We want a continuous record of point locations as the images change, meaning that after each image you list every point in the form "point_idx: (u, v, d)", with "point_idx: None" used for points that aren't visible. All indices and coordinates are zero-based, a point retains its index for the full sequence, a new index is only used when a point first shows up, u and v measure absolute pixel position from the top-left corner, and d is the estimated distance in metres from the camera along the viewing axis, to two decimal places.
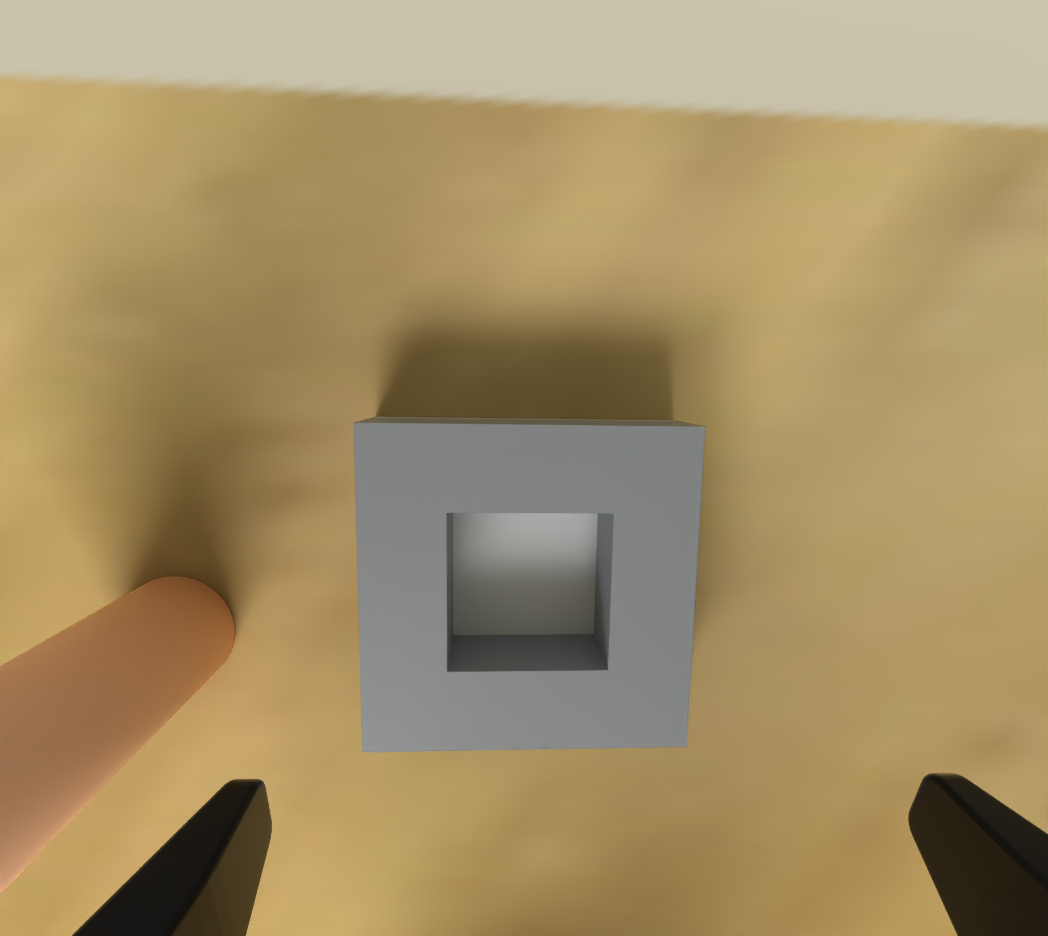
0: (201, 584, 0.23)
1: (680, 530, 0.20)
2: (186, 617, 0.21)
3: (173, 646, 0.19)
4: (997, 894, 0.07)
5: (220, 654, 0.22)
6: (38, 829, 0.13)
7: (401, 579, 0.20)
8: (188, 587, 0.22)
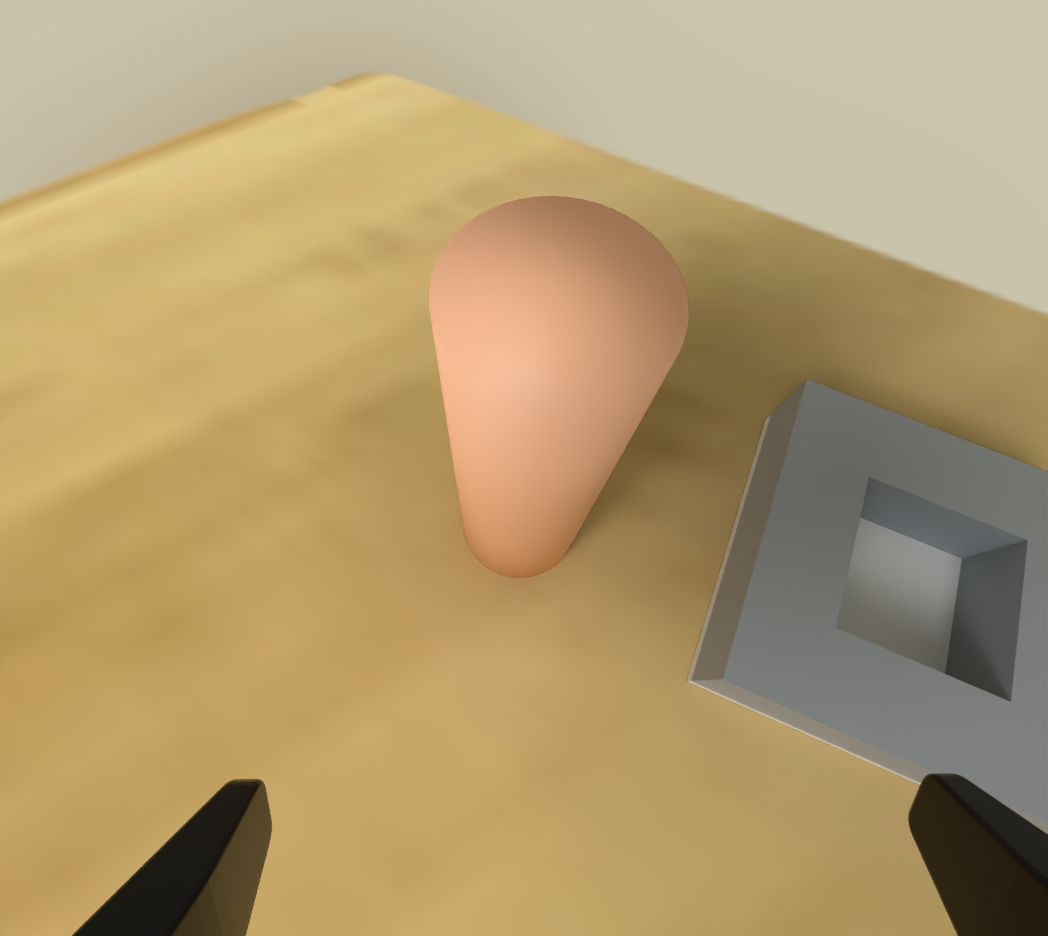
0: None
1: None
2: None
3: None
4: (997, 894, 0.07)
5: (568, 547, 0.21)
6: (623, 451, 0.13)
7: (813, 517, 0.20)
8: None
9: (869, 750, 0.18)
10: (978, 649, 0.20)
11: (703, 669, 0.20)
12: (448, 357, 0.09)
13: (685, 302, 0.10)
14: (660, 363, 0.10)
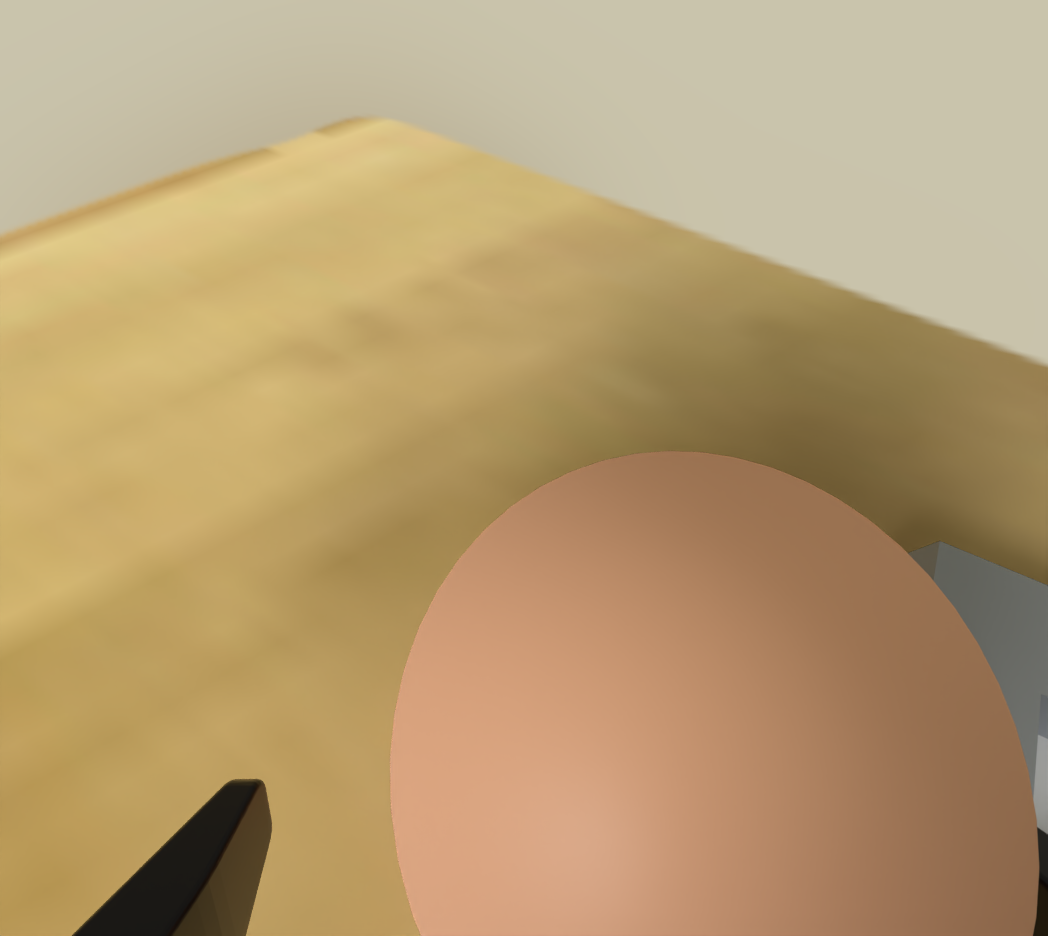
0: None
1: None
2: None
3: None
4: None
5: None
6: None
7: None
8: None
9: None
10: None
11: None
12: None
13: (1017, 750, 0.04)
14: None
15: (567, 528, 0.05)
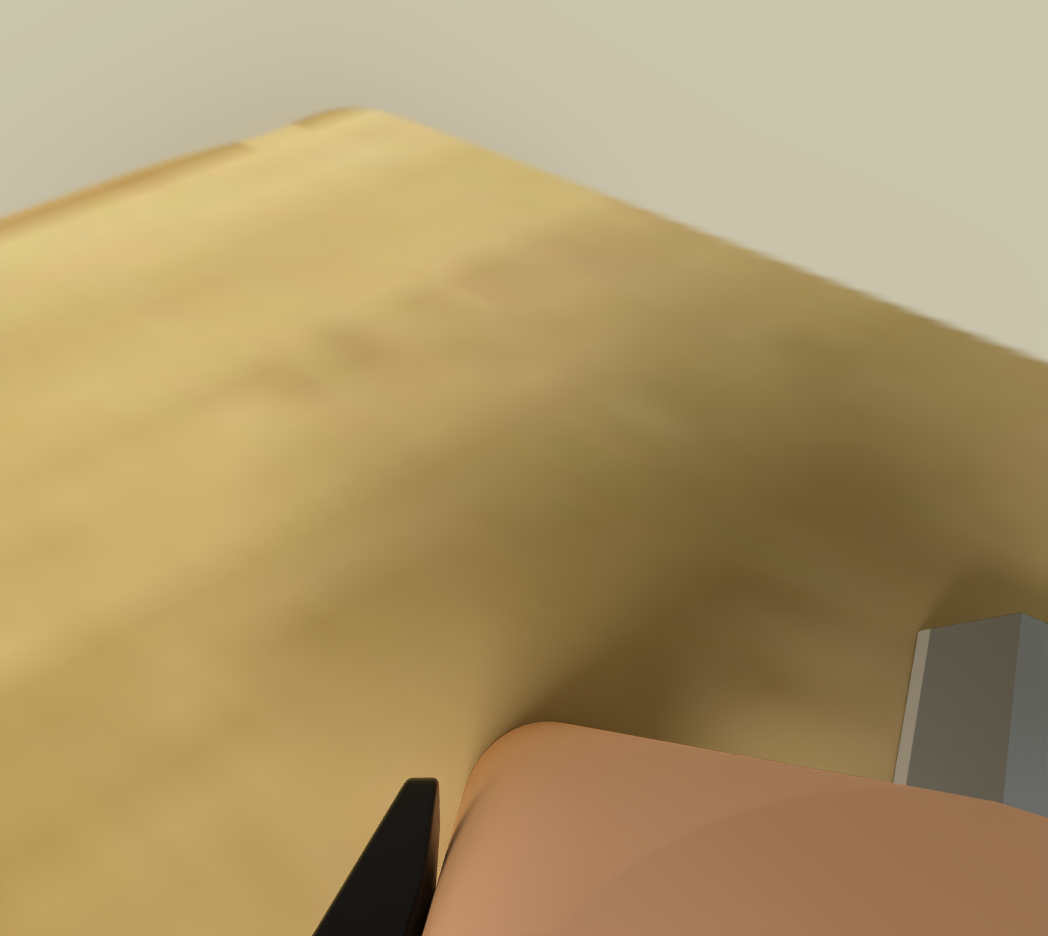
0: None
1: None
2: None
3: None
4: None
5: None
6: None
7: None
8: None
9: None
10: None
11: None
12: None
13: None
14: None
15: None
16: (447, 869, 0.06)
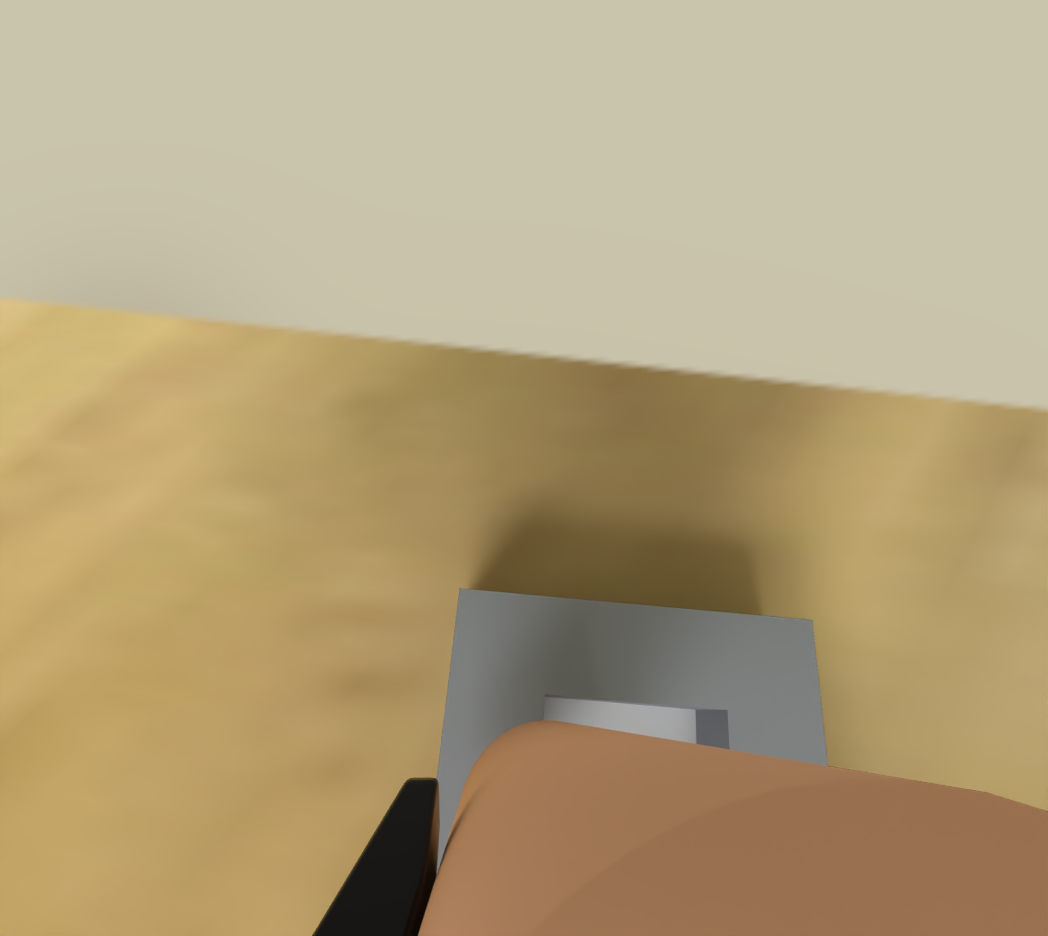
0: None
1: (803, 737, 0.18)
2: None
3: None
4: None
5: None
6: None
7: None
8: None
9: None
10: None
11: None
12: None
13: None
14: None
15: None
16: (445, 865, 0.06)
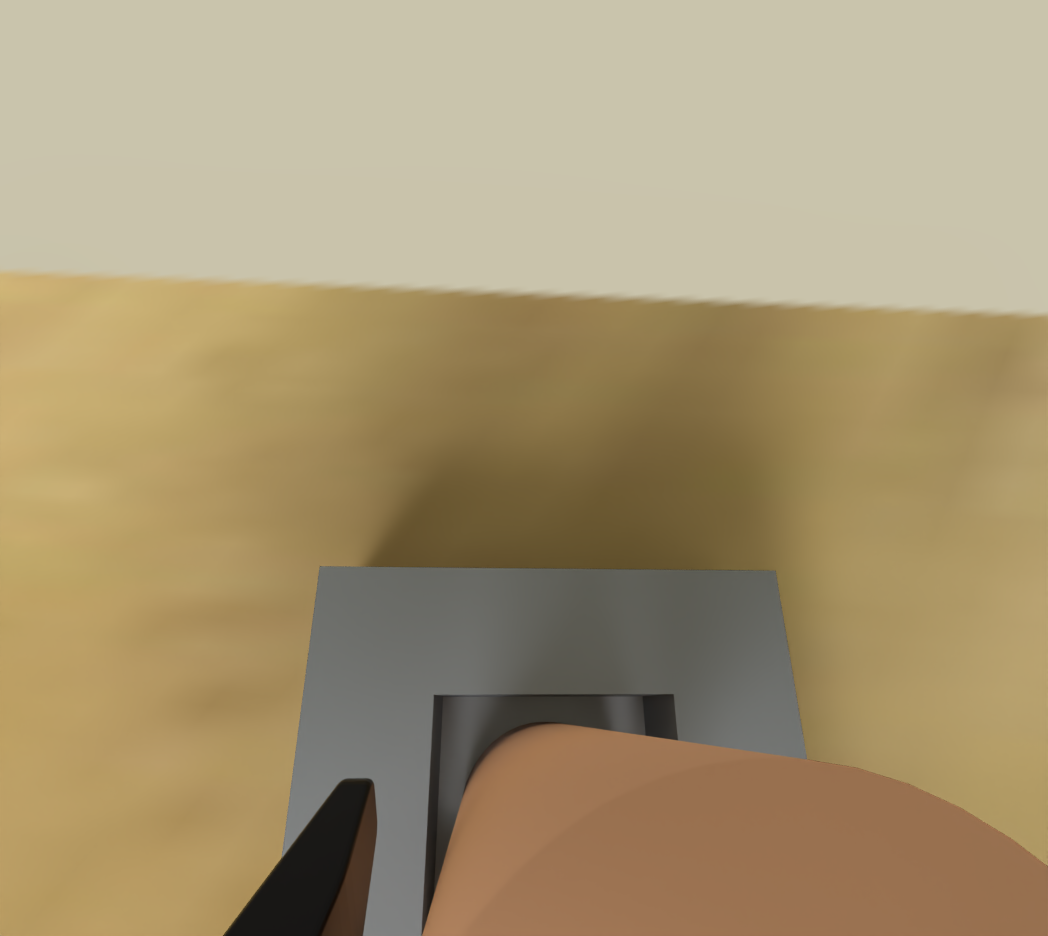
0: None
1: (773, 720, 0.14)
2: None
3: None
4: None
5: None
6: None
7: None
8: None
9: None
10: None
11: None
12: None
13: None
14: None
15: (603, 911, 0.03)
16: (453, 845, 0.06)
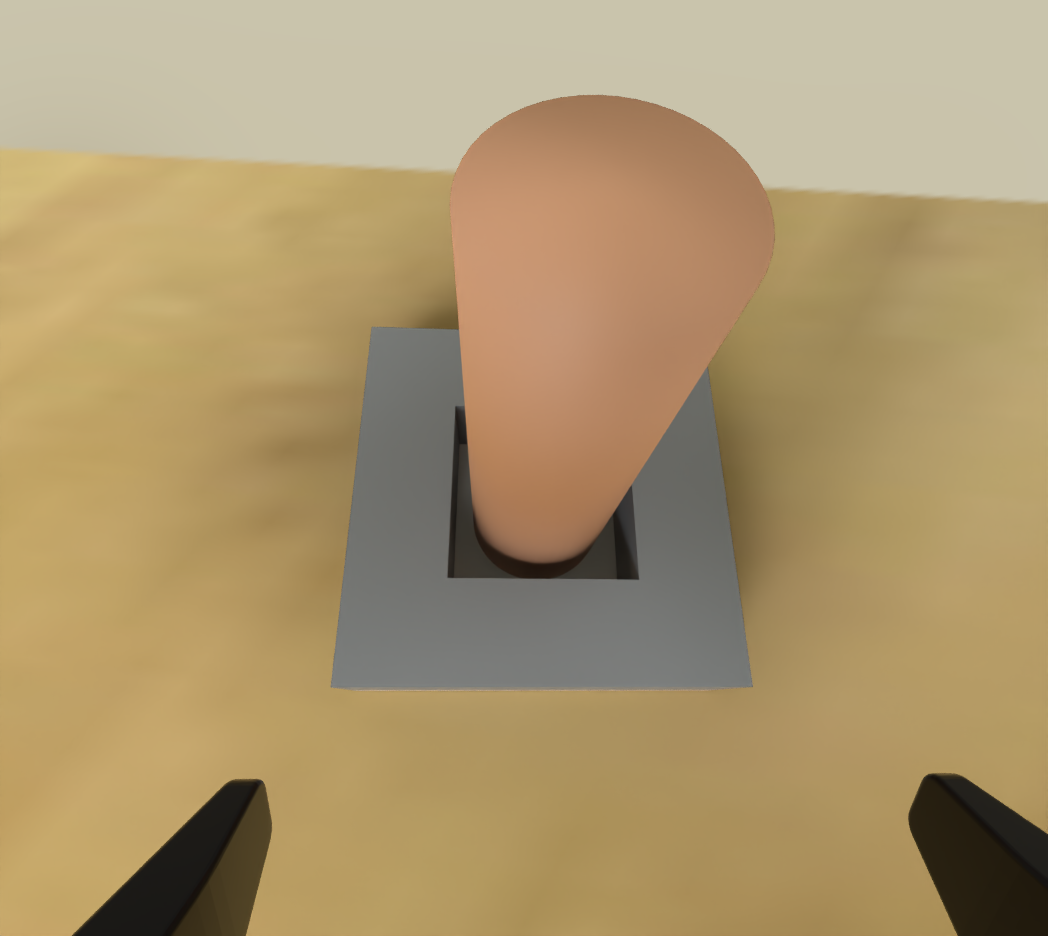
0: None
1: (697, 427, 0.19)
2: None
3: None
4: (997, 894, 0.07)
5: (591, 546, 0.19)
6: (672, 420, 0.11)
7: (402, 470, 0.18)
8: None
9: (526, 688, 0.17)
10: (623, 534, 0.19)
11: None
12: (474, 274, 0.07)
13: (769, 217, 0.08)
14: (742, 286, 0.08)
15: (540, 124, 0.08)
16: None
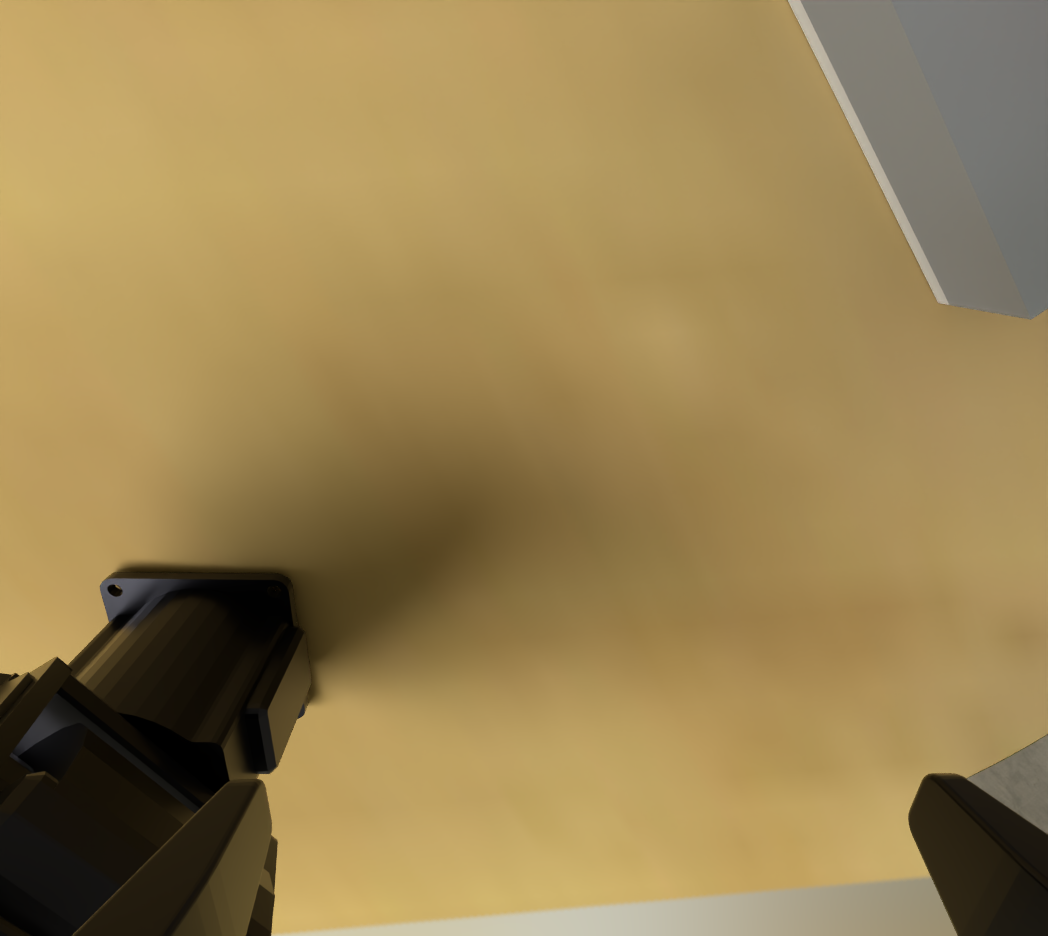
0: None
1: None
2: None
3: None
4: (997, 894, 0.07)
5: None
6: None
7: None
8: None
9: (905, 111, 0.14)
10: None
11: None
12: None
13: None
14: None
15: None
16: None
